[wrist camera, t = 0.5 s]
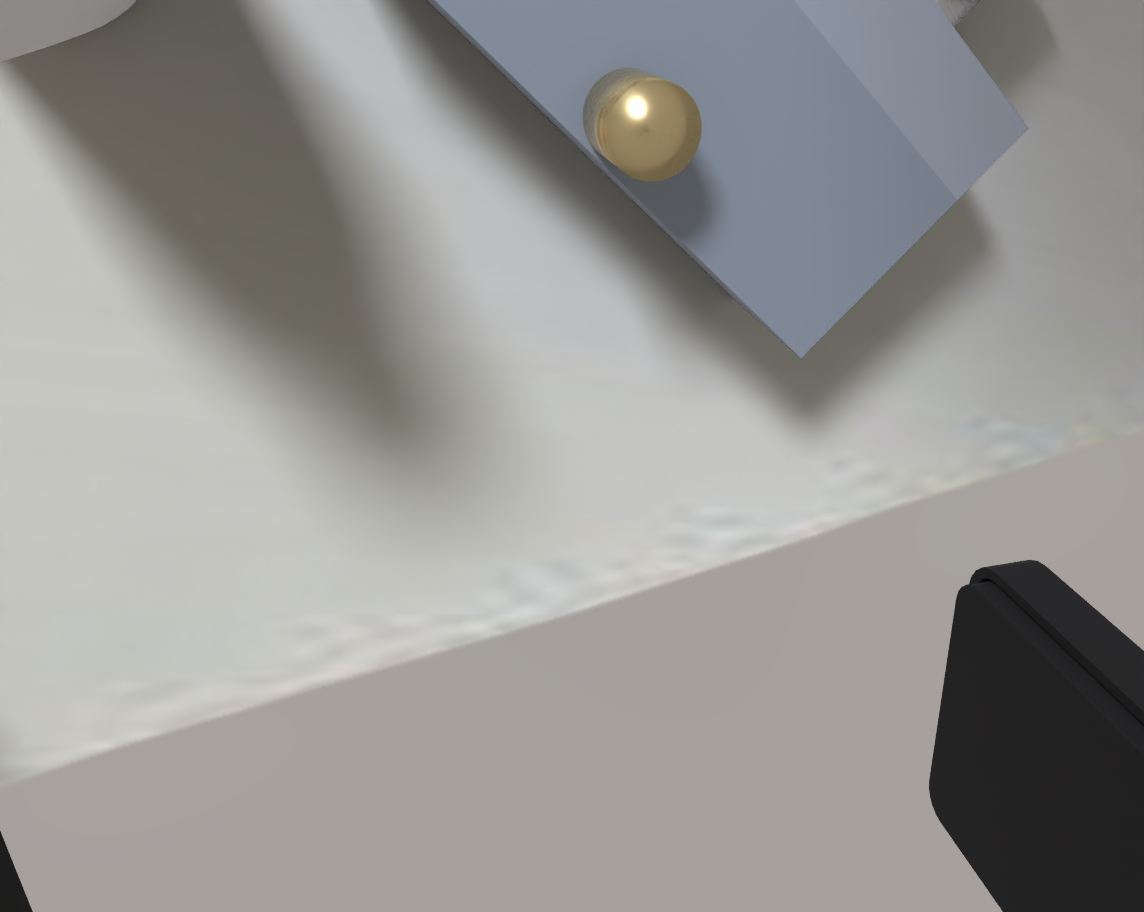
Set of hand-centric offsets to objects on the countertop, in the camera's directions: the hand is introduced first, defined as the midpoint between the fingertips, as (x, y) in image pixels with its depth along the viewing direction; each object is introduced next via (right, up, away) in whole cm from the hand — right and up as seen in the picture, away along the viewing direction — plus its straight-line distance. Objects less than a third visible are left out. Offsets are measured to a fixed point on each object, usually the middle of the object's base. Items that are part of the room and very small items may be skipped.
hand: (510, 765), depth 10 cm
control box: (+3, +18, +25) cm, 31 cm away
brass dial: (+2, +13, +20) cm, 24 cm away
